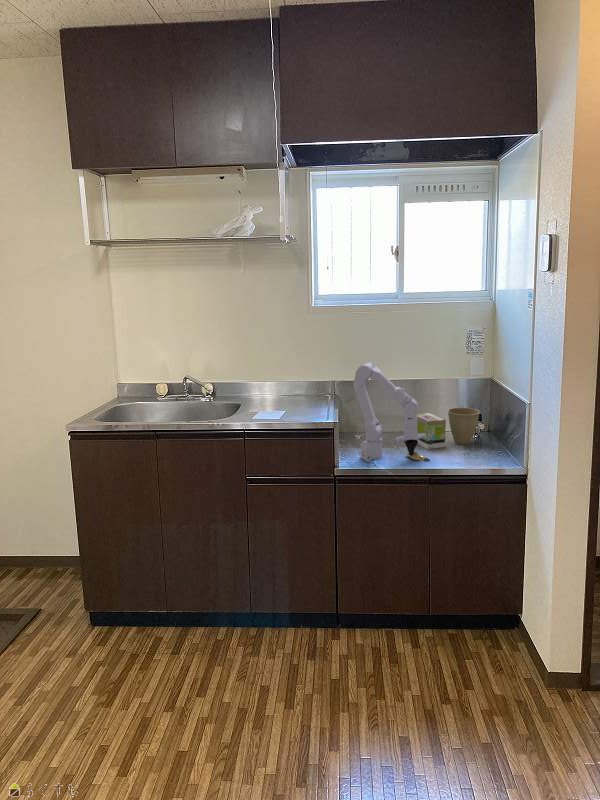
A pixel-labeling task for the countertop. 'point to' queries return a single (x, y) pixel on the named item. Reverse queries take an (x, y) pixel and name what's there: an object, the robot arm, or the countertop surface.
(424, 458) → the hinge base
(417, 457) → the tan flat block
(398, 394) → the robot arm
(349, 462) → the countertop surface
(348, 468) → the countertop surface
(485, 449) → the countertop surface
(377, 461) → the countertop surface
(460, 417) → the plant pot
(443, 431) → the tea box
